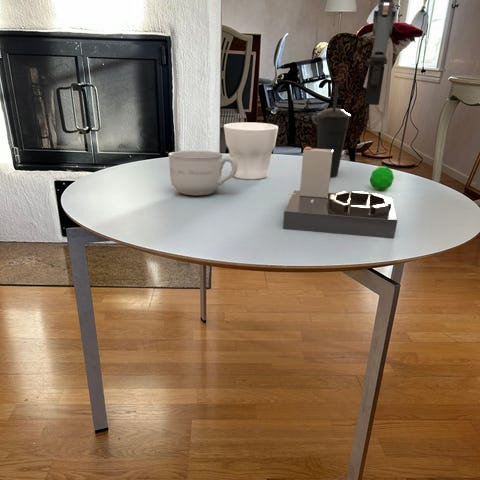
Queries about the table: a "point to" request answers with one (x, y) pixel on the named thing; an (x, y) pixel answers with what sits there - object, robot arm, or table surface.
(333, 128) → the drinking cup
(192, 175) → the teacup
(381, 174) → the polyhedron
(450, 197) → the table surface
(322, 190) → the upright white panel
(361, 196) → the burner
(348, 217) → the cooktop
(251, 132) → the cup
